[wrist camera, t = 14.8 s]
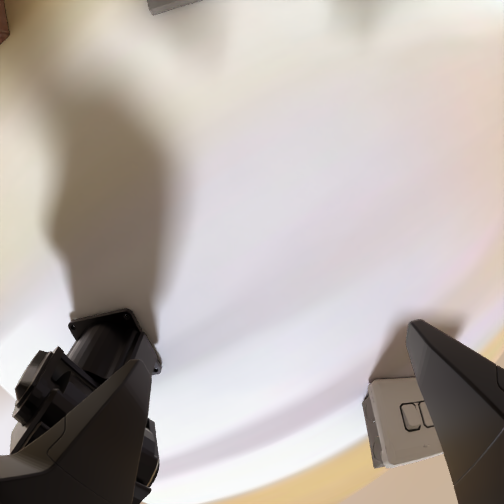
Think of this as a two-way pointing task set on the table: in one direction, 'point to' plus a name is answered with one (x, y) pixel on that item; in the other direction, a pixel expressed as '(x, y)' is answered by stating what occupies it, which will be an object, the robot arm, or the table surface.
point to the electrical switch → (399, 423)
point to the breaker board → (166, 5)
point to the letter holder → (3, 23)
